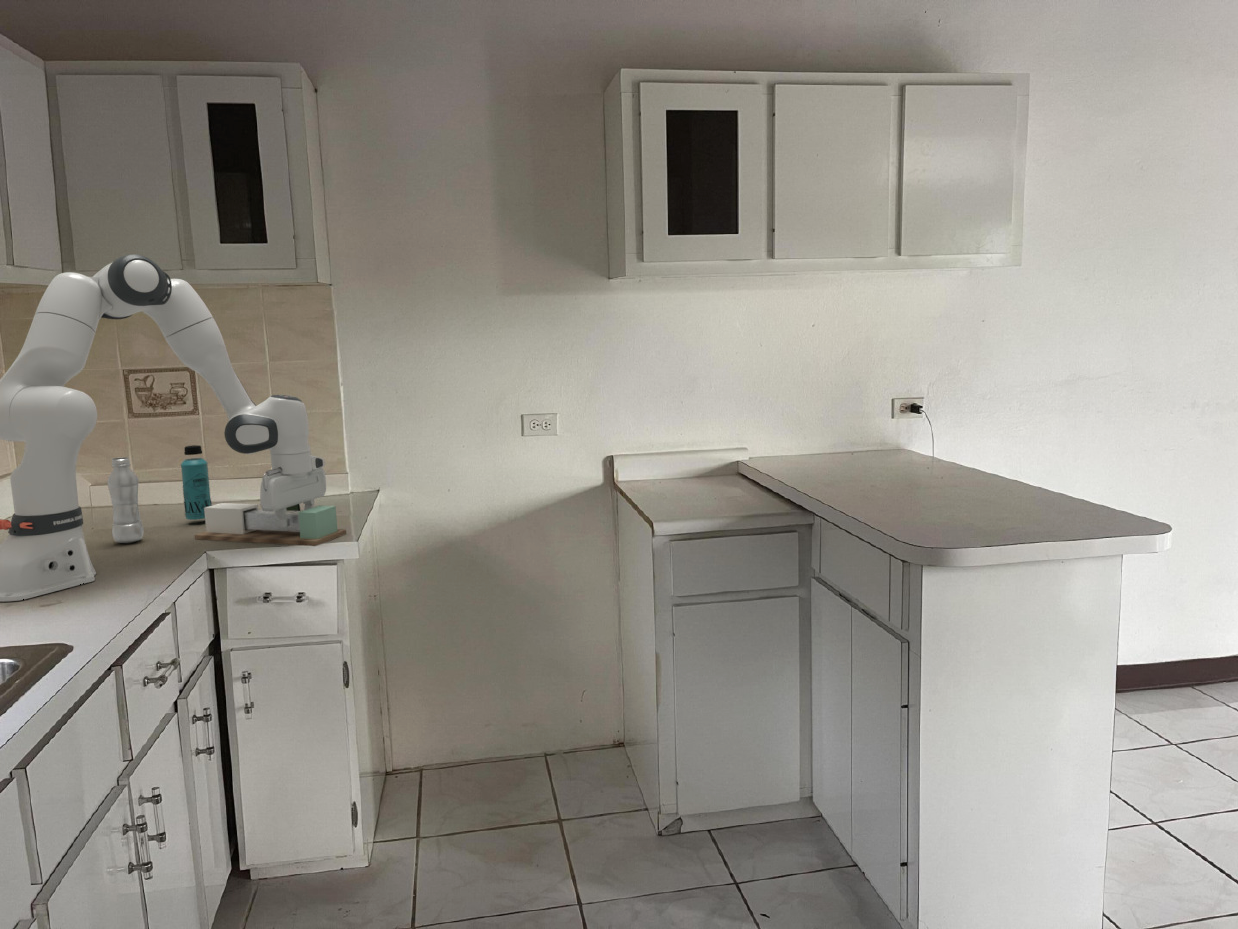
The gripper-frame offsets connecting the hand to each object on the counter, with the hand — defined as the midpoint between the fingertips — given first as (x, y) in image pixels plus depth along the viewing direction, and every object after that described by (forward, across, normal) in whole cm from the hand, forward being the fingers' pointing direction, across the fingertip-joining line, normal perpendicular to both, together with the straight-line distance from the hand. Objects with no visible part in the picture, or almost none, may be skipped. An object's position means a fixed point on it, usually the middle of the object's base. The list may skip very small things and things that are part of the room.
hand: (296, 522), depth 222 cm
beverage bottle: (+4, +10, +37) cm, 38 cm away
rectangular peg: (+2, 0, +3) cm, 4 cm away
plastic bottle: (+4, -12, +38) cm, 40 cm away
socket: (+3, 0, -6) cm, 6 cm away
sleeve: (+3, 0, +18) cm, 18 cm away
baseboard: (+4, 0, +8) cm, 8 cm away
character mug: (+4, +22, +19) cm, 29 cm away
